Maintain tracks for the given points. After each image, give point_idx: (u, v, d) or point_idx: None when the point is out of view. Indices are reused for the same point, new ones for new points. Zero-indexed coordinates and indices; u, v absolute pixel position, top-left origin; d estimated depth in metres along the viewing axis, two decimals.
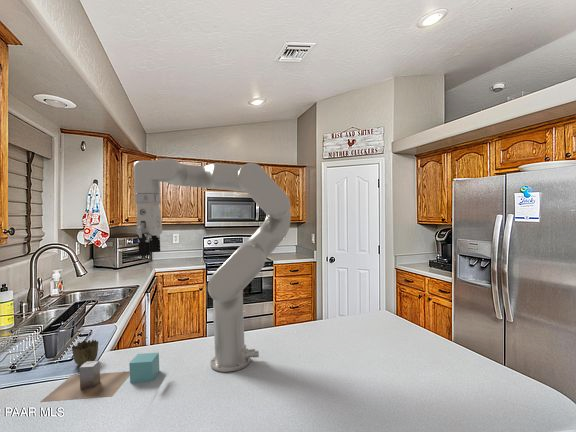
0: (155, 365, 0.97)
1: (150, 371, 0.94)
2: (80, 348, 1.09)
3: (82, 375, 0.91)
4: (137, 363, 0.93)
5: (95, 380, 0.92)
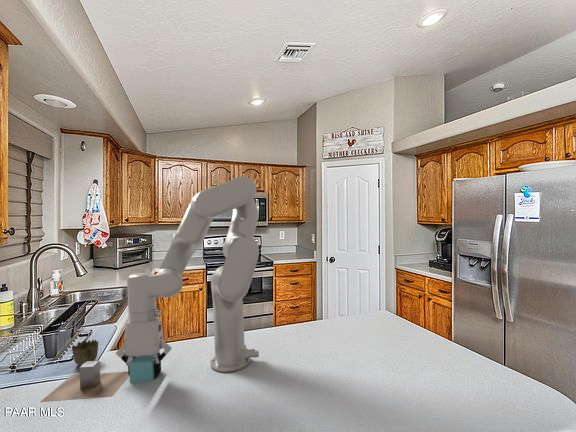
0: None
1: (150, 371, 0.94)
2: (80, 348, 1.09)
3: (82, 375, 0.91)
4: (137, 363, 0.93)
5: (95, 380, 0.92)
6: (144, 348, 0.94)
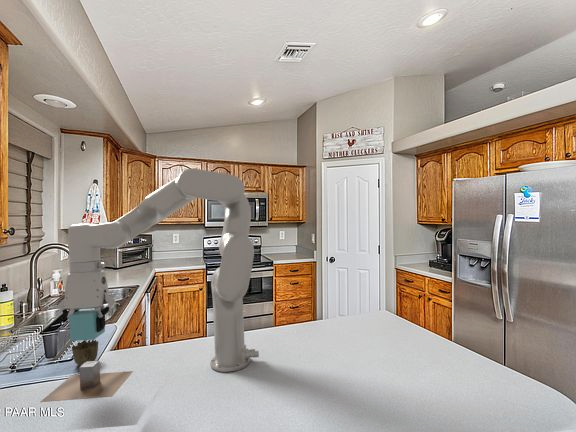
0: None
1: (91, 324, 0.89)
2: (80, 348, 1.09)
3: (82, 375, 0.91)
4: (77, 315, 0.89)
5: (95, 380, 0.92)
6: (85, 300, 0.90)
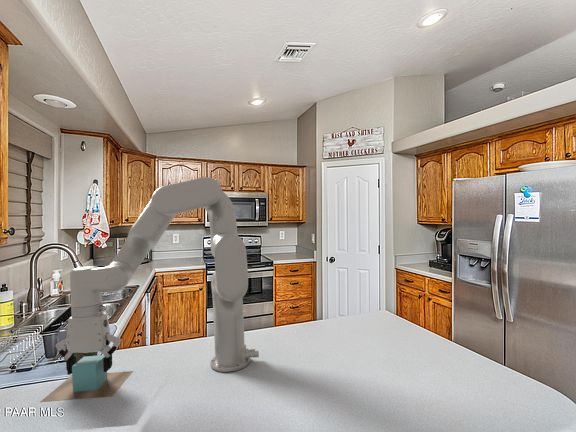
0: (101, 368, 0.93)
1: (94, 375, 0.90)
2: None
3: None
4: (80, 366, 0.89)
5: None
6: (87, 344, 0.90)
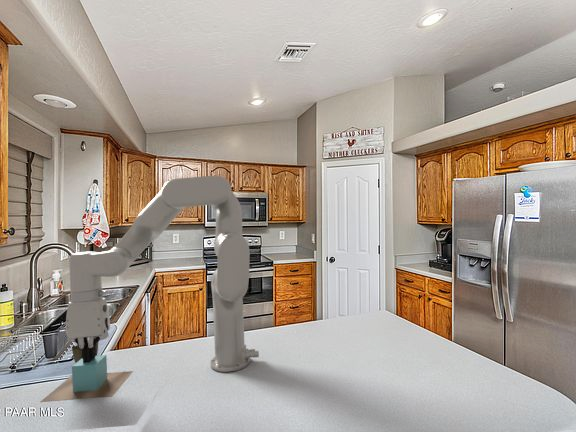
0: (101, 368, 0.93)
1: (94, 375, 0.90)
2: (80, 348, 1.09)
3: None
4: (80, 366, 0.89)
5: None
6: (87, 329, 0.90)
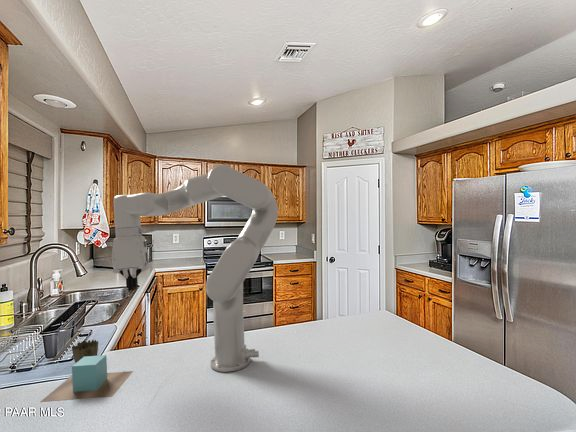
0: (101, 368, 0.93)
1: (94, 375, 0.90)
2: (80, 348, 1.09)
3: None
4: (80, 366, 0.89)
5: None
6: (131, 261, 1.04)
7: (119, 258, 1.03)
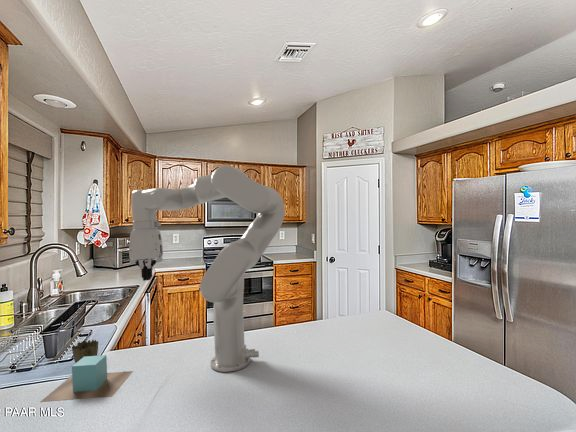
0: (101, 368, 0.93)
1: (94, 375, 0.90)
2: (80, 348, 1.09)
3: None
4: (80, 366, 0.89)
5: None
6: (146, 252, 1.10)
7: (135, 249, 1.09)
